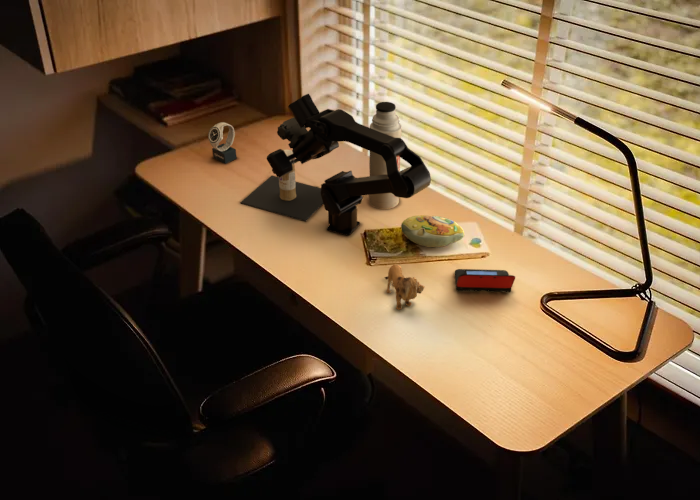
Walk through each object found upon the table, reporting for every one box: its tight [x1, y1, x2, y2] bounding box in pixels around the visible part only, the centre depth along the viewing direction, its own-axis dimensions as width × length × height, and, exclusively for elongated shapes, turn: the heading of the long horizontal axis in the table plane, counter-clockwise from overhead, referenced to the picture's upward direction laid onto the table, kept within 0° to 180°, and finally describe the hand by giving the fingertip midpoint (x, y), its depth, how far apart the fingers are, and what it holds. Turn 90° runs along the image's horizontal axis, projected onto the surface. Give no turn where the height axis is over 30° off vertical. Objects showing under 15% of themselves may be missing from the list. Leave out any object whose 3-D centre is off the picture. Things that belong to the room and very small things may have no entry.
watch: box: [207, 121, 238, 165], centre depth 229 cm, size 6×8×11 cm
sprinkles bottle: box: [279, 149, 297, 201], centre depth 209 cm, size 5×5×13 cm
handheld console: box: [454, 268, 516, 293], centre depth 179 cm, size 12×11×7 cm
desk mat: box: [240, 175, 324, 222], centre depth 214 cm, size 20×16×1 cm
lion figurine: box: [384, 263, 425, 311], centre depth 176 cm, size 15×5×9 cm, turn 25°
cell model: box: [400, 214, 465, 248], centre depth 195 cm, size 11×8×15 cm
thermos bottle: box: [368, 101, 402, 210], centre depth 204 cm, size 8×8×28 cm
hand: (286, 165), depth 208 cm, fingers open, 9 cm apart
